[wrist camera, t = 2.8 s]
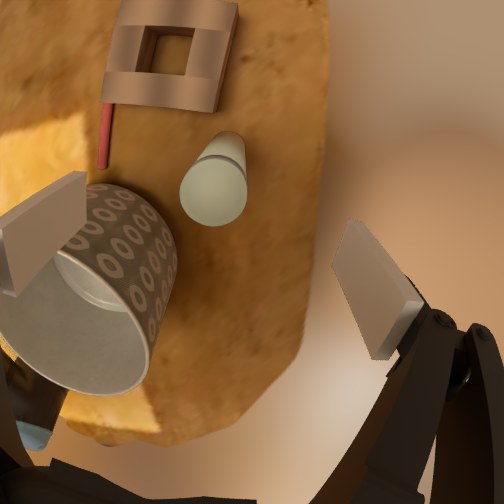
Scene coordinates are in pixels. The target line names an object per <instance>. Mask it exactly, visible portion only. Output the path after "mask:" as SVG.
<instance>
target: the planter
mask: <svg viewBox="0 0 504 504" xmlns="http://www.w3.org/2000/svg"><path fill="white" fill-rule="evenodd" d="M86 214H87V223H86V224H85V225H84V226H83V227H82V228H81V229H80V230H79V231H78V232H77V233H76V234H75V235H74V236H73V237H72V238H71V239H70V240H69V241H68V242H67V243H66V244H65V245H64V246H63V247H62V248H61V249H60V250H59V251H58V252H57V253H56V254H55V255H54V256H53V257H52V258H51V259H50V260H49V261H48V263H47V264H46V265H45V266H44V267H43V268H42V269H41V270H40V271H39V272H38V274H37V275H36V276H35V277H34V278H33V279H32V280H31V281H30V283H29V284H28V285H27V286H26V287H25V288H24V290H23V291H22V292H21V293H20V294H19V296H18V297H17V298H16V297H13V296H10V295H7V294H4V293H3V291H2V288H1V284H0V335H1V336H2V337H3V339H4V340H5V342H6V343H7V344H8V345H9V347H10V348H11V349H12V350H13V351H14V352H15V353H16V354H17V355H18V356H19V357H20V358H21V359H22V360H23V361H24V362H25V363H26V364H27V365H29V366H30V367H31V368H32V369H34V370H35V371H36V372H38V373H39V374H41V375H42V376H44V377H45V378H47V379H49V380H50V381H52V382H54V383H56V384H58V385H60V386H62V387H65V388H67V389H70V390H72V391H76V392H79V393H83V394H88V395H94V396H114V395H120V394H123V393H126V392H129V391H131V390H133V389H134V388H136V387H137V386H138V385H139V384H140V383H141V382H142V381H143V379H144V378H145V376H146V374H147V372H148V369H149V365H150V361H151V358H152V354H153V351H154V347H155V344H156V340H157V337H158V333H159V330H160V326H161V323H162V320H163V316H164V313H165V310H166V307H167V303H168V300H169V297H170V294H171V291H172V287H173V284H174V281H175V278H176V274H177V266H178V259H177V250H176V246H175V242H174V239H173V236H172V234H171V232H170V230H169V228H168V226H167V224H166V223H165V221H164V220H163V218H162V217H161V215H160V214H159V213H158V212H157V211H156V210H155V209H154V208H153V207H152V206H151V205H150V204H149V203H148V202H147V201H146V200H144V199H143V198H141V197H140V196H139V195H137V194H135V193H133V192H132V191H130V190H127V189H125V188H122V187H119V186H116V185H111V184H89V185H86Z"/></svg>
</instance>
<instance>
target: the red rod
mask: <svg viewBox="0 0 504 504" xmlns="http://www.w3.org/2000/svg"><path fill="white" fill-rule="evenodd" d="M112 109H113V103H103V111H102V119H101V129H100V139H99V152H98V168H99V169H100V170H103V169H105V168H106V166H107V156H108V144H109V134H110V124H111V116H112Z"/></svg>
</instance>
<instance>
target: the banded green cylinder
mask: <svg viewBox="0 0 504 504" xmlns="http://www.w3.org/2000/svg"><path fill="white" fill-rule="evenodd" d="M247 194H248V184H247V178H246V161H245V145H244V141H243V139H242V138H241V137H240V136H239V135H238V134H236V133H234V132H231V131H224V132H221V133H219V134H217V135H216V136H215V137H214V138H213V139H212V140H211V142H210V143H209V144H208V146H207V147H206V148H205V150H204V151H203V152H202V154H201V155H200V156H199V158H198V159H197V160H196V162H195V163H194V164H193V165H192V166H191V167H190V169H189V170H188V171H187V173H186V174H185V176H184V179H183V181H182V183H181V186H180V201H181V204H182V207H183V209H184V210H185V212H186V213H187V214H188V216H189V217H191V218H192V219H193V220H194V221H196V222H198V223H200V224H203V225H206V226H221V225H225V224H228V223H230V222H232V221H233V220H235V219H236V218H237V217H238V216H239V215H240V214H241V212H242V211H243V209H244V207H245V205H246V201H247Z"/></svg>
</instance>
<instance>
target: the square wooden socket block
mask: <svg viewBox="0 0 504 504" xmlns="http://www.w3.org/2000/svg"><path fill="white" fill-rule="evenodd" d="M238 16H239V14H238V3H233V2H225V1H217V0H122V2H121V5H120V9H119V13H118V16H117V20H116V24H115V28H114V32H113V36H112V40H111V45H110V49H109V54H108V59H107V64H106V69H105V75H104V81H103V87H102V94H101V101H100V103H120V104H135V105H148V106H158V107H168V108H177V109H185V110H192V111H200V112H206V113H215V112H217V107H218V102H219V98H220V93H221V88H222V83H223V79H224V74H225V70H226V66H227V61H228V57H229V53H230V48H231V44H232V40H233V36H234V32H235V28H236V24H237V20H238ZM158 34H162V35H179V36H191V37H193V41H192V45H191V49H190V53H189V58H188V62H187V67H186V72H185V76H181V75H171V74H158V73H150V68H151V63H152V58H153V54H154V49H155V45H156V41H157V36H158Z"/></svg>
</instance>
